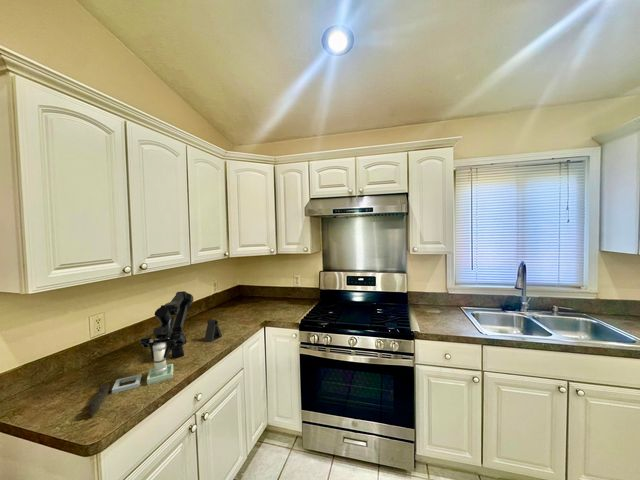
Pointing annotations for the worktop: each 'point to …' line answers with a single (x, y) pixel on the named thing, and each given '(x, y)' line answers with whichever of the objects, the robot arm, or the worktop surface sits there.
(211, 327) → the phone stand
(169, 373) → the parts tray
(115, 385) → the rectangular open frame
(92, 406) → the hand tool
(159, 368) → the mushroom-shaped knob
